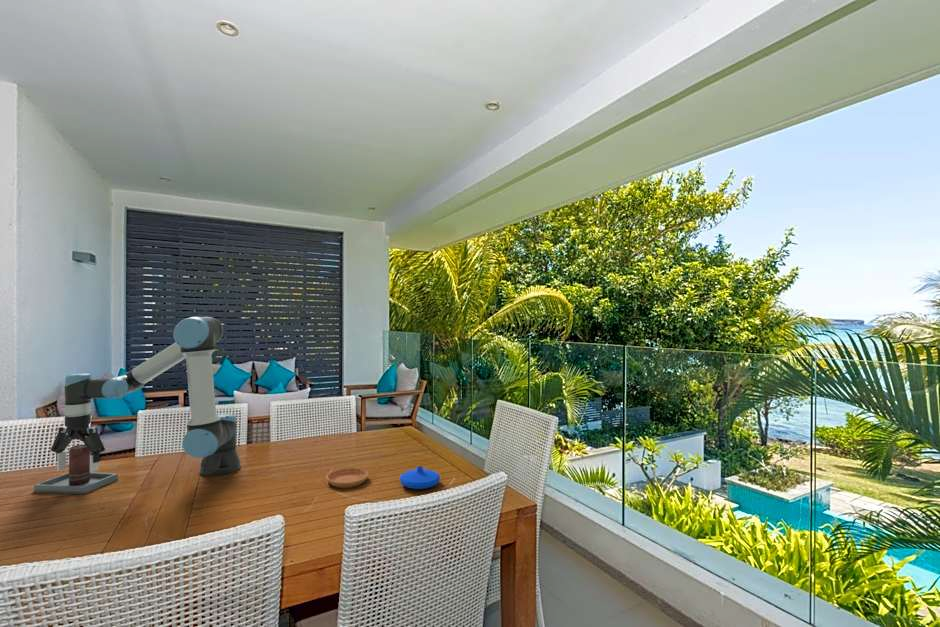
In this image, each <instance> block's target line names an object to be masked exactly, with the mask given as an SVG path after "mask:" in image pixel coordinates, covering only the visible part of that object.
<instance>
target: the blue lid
mask: <svg viewBox="0 0 940 627" xmlns="http://www.w3.org/2000/svg"><path fill="white" fill-rule="evenodd" d="M440 480H441V476H440V475H439V473H438V472H437V471H435V470H431V469H426V468H424V467H423V466H421V465H419V466H417V468H416V469H411V470H407V471H405V472H403V473H402V474H401V475H400V476H399V482H400V484H401V485H403V486H404V487H407V488H409V489H412V490H424V489H429V488H432V487H434V486H435V485H437V484H439V482H440Z"/></svg>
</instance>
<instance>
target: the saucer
mask: <svg viewBox="0 0 940 627" xmlns="http://www.w3.org/2000/svg"><path fill="white" fill-rule="evenodd" d="M367 479H369V472H368V471H367V470H365V469H362V468H356V467H346V468H339V469H335V470H332V471H331V472H329V473H327V475H326V481H327V483H328V484H330V485H331V486H332V487H335V488H338V489H339V488H340V489H349V488H354V487H358V486H361V485H362V484H363V483H364V482H365V481H366V480H367Z"/></svg>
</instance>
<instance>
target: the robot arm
mask: <svg viewBox="0 0 940 627" xmlns="http://www.w3.org/2000/svg"><path fill="white" fill-rule="evenodd" d="M223 326H224V325H223V324H222V323H221V322H220V321H219V320H218V319H217V318H214V317H212V316H192V317H191V316H190V317H188V318H187V317H186V318H183V319H182V320H180V321H179V322H178V323H177V324H176V326H174V329H173V335H172V336H173V339H174V341H175V342H174V343H172V344H171V345H169V346H168V347H166V348H164V349H163V350H161V351H159V352H158V353H156V354H155V355H153V356H151V357H149V358H148V359H147V360H146V361H143V362H142V363H140V364H139V365H137V366H136V367H134V368H132V369H130V370H129V371H127V372H126V373H124V374H122V375H117V376H113V377H109V378H92V375H91V374H90V373H89V372H88V373H85V372H83V373H82V372H81V373H72V374H68V375H66V376H65V379H64V386H63V387H64V426H60V427H58V428H57V430H58V431H57V434H56V436H55V439H54V441H53V443H52V446H51V448H50V451H51V452H54V453H55V459H56V460H55V461H56V465H57V466H56V470H57V472H58V471H60V472H61V471H62V470H65V469H66V468H67V450H66V448H67V447H68V446H69V444H71V442H72V441H73V440H77V441H78V440H80V442H83V445H86V446H87V448H88V449H89V450H90V472H94V473H95V472H97V471H98V470H99V462H100V454H101V453H102V452H105V451H106V449H105V446H104V443H103V442H102V439H101V438H100V435H99V433H98V427H97V426H94V427H90V424H91V422H92V420H91V419H92V415H91V411H92V406H91V405H92V400H93V399H103V400H106V399H107V400H108V399H109V400H115V399H121V398H124V396H125V395H126V394H129V393H134V392H136V391H138V390H141V389H142V388H143V387H144V386H145V384H147V383H148V382H150V381H152V380H153V379H154V378H156V377H158V376H159V375H161V374H163V373H164V372H166V371H167V370H169V369H170V368H173V367H174V366H175V365H177V364H179V363H180V362H182V361H184V360H185V363H186V375H187V376H186V377H187V389H188V400H189V412H190V413H189V414H190V419H189V420H188V421H187V422H186V433H185V435H184V436H183V438H182V443H181V444H182V449H183V450H184V452H185V453H186V454H187V455H188V456H190V457H192V458H195V459H202V460H201V462H200V466H199V474H200V475H203V476H222V475H225V474H226V475H227V474H230V473H234V472H236V471H238V470H239V469H240V468H241V466H242V465H241V464H242V461H241V459H240V455H239V453H238V450H237V429H238V428H237V425H238V421H237V416H236V415H235V414H228V413H227V414H225V413H224V414H222V413H221V414H217V410H216V409H217V408H216V396H215V384H214V371H213V358H212V354H213V353H214V352H215V351H216V344H217V342H219V341H220V340H221V339H222V337H223V335H224V327H223Z"/></svg>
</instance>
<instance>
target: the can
mask: <svg viewBox="0 0 940 627" xmlns="http://www.w3.org/2000/svg"><path fill="white" fill-rule="evenodd" d="M90 455H91V452H90V450H89V449H88V448H87V446H86V445H85V444H78V445H73V446H71V447H70V448H69V450H68V473H69V484H70V485H72V486H76V485H82V484H85V483H87V482H89V480H90Z"/></svg>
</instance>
